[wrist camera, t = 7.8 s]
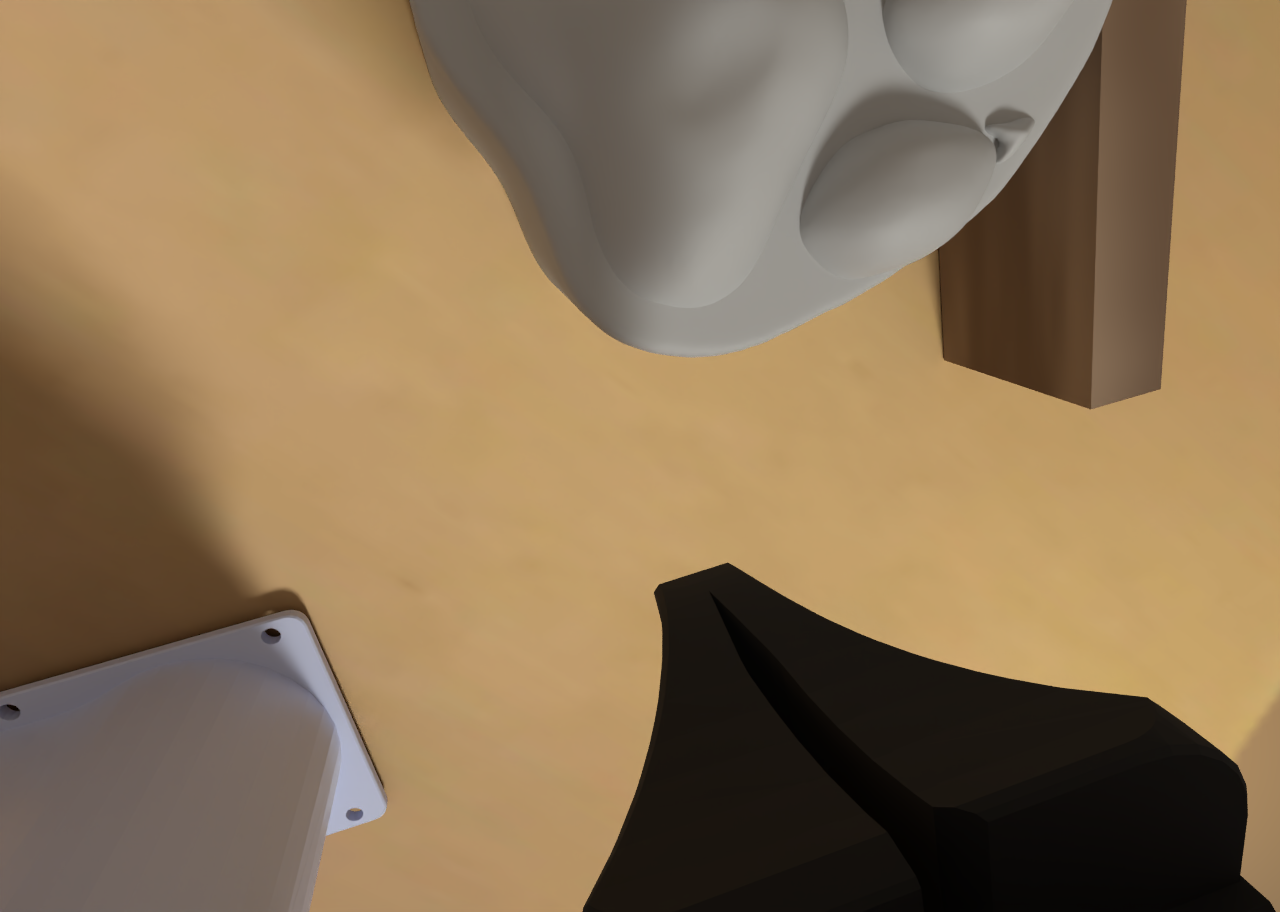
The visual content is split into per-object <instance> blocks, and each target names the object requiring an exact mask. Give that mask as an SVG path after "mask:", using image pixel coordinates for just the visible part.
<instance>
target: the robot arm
mask: <svg viewBox="0 0 1280 912" xmlns="http://www.w3.org/2000/svg"><path fill="white" fill-rule="evenodd" d="M654 595H655V598H656V602H657V606H658V610H659V614H660V618H661V622H662V670H661V680H660V690H659V698H658V705H657V711H656V717H655V722H654V727H653V732H652V736H651V741H650V745H649V749H648V752H647V756H646V760H645V763H644V767H643V770H642V774H641V777H640V780H639V784H638V787H637V790H636V793H635V796H634V798H633V801H632V803H631V806H630V808H629V811H628V813H627V816H626V819H625V821H624V824H623V826H622V829H621V831H620V834H619V836H618V839H617V841H616V843H615V846H614V848H613V850H612V852H611V855H610V857H609V858H608V860H607V862H606V864H605V866H604V868H603V870H602V872H601V874H600V876H599V878H598V880H597V882H596V884H595V886H594V888H593V890H592V892H591V894H590V896H589V898H588V900H587V902H586V904H585V905H584V907H583V912H1276V911H1275V910H1274V908H1273V906H1272V904H1271V903H1270V901H1269V900H1267V899H1266V898H1265V897H1264V896H1263V895H1262V894H1261V893H1260V892H1258V891H1257V890H1256V889H1255V888H1254V887H1253V886H1252V885H1250V884H1249V883H1248V882H1247V881H1246V880H1245V879H1244V878H1243V877H1242V876H1240V872H1241V864H1242V856H1243V848H1244V840H1245V832H1246V825H1247V817H1248V809H1247V788H1246V783H1245V781H1244V779H1243V776H1242V774H1241V772H1240V770H1239V767H1238V765H1237V764H1236V763H1234V762H1233V761H1232V760H1231V759H1230V758H1228V757H1227V756H1226V755H1225V754H1224V753H1223V752H1221V751H1220V750H1219V749H1218V748H1216V747H1215V746H1214V745H1212V744H1211V743H1210V742H1208V741H1207V740H1206V739H1204V738H1203V737H1202V736H1201V735H1199V734H1198V733H1197V732H1195V731H1194V730H1193V729H1191V728H1190V727H1189V726H1187V725H1186V724H1185V723H1184V722H1182V721H1181V720H1179V719H1178V718H1176V717H1175V716H1174V715H1172V714H1171V713H1169V712H1168V711H1166V710H1165V709H1164V708H1162V707H1161V706H1159V705H1158V704H1156V703H1155V702H1153V701H1151V700H1150V699H1149V698H1147V697H1138V696H1129V695H1120V694H1111V693H1102V692H1093V691H1085V690H1076V689H1067V688H1060V687H1053V686H1048V685H1042V684H1036V683H1031V682H1025V681H1020V680H1014V679H1009V678H1004V677H999V676H995V675H990V674H986V673H981V672H977V671H973V670H969V669H965V668H962V667H958V666H954V665H950V664H946V663H943V662H939V661H935V660H932V659H929V658H925V657H922V656H919V655H916V654H913V653H910V652H907V651H904V650H901V649H899V648H896V647H893V646H890V645H887V644H885V643H882V642H879V641H876V640H874V639H871V638H869V637H866V636H864V635H861V634H859V633H856V632H854V631H852V630H850V629H848V628H845V627H843V626H841V625H839V624H837V623H834V622H832V621H830V620H828V619H826V618H824V617H822V616H820V615H818V614H816V613H814V612H812V611H810V610H808V609H807V608H805V607H803V606H801V605H799V604H797V603H795V602H794V601H792V600H790V599H788V598H786V597H785V596H783V595H781V594H779V593H778V592H776V591H774V590H773V589H771V588H769V587H768V586H766V585H764V584H763V583H761V582H759V581H758V580H756V579H754V578H753V577H751V576H750V575H748V574H746V573H745V572H743V571H741V570H740V569H738V568H736V567H735V566H733V565H731V564H729V563H725V564H722V565H719V566H716V567H713V568H709V569H706V570H703V571H700V572H697V573H694V574H691V575H687V576H684V577H681V578H678V579H675V580H672V581H669V582H665V583H662V584H659V585H658V587H657V588H656V590H655V592H654ZM270 628H273V629H276V630H278V631H279V632H280V634H281V635H280V636H277V637H272V636H269V635H267V633H266V632H265V630H266V629H270ZM6 704H11V705H14V706H16V707H17V708H19V709H20V711H14V710H11V709H10V708H8V707H7V705H6ZM351 808H359V809H361V810H360V811H355V812H354V811H351V810H350V809H351ZM386 808H387V796H386V793H385V791H384V789H383V786H382V784H381V782H380V780H379V777H378V775H377V773H376V771H375V768H374V766H373V764H372V762H371V759H370V757H369V755H368V753H367V750H366V748H365V746H364V743H363V741H362V739H361V737H360V734H359V732H358V730H357V728H356V725H355V723H354V721H353V719H352V716H351V714H350V712H349V710H348V707H347V705H346V703H345V700H344V698H343V696H342V694H341V691H340V689H339V687H338V685H337V682H336V680H335V678H334V676H333V673H332V671H331V669H330V666H329V664H328V662H327V660H326V657H325V655H324V653H323V651H322V648H321V646H320V644H319V642H318V639H317V637H316V635H315V633H314V630H313V628H312V626H311V623H310V621H309V619H308V618H307V617H306V615H305V614H303V613H302V612H300V611H296V610H285V611H282V612H278V613H275V614H271V615H268V616H264V617H261V618H257V619H254V620H250V621H247V622H243V623H240V624H236V625H233V626H229V627H226V628H222V629H219V630H215V631H212V632H208V633H205V634H201V635H198V636H194V637H191V638H187V639H184V640H180V641H177V642H173V643H170V644H166V645H163V646H159V647H156V648H152V649H149V650H145V651H142V652H138V653H135V654H131V655H128V656H124V657H121V658H117V659H114V660H110V661H107V662H103V663H100V664H96V665H93V666H89V667H86V668H82V669H79V670H75V671H72V672H68V673H65V674H61V675H58V676H54V677H51V678H47V679H44V680H40V681H37V682H33V683H30V684H26V685H23V686H19V687H16V688H12V689H9V690H5V691H2V692H0V912H309V910H310V905H311V901H312V896H313V891H314V887H315V882H316V878H317V873H318V869H319V864H320V860H321V855H322V851H323V846H324V841H325V837H326V836H327V835H330V834H333V833H336V832H339V831H342V830H345V829H348V828H351V827H354V826H357V825H360V824H363V823H366V822H369V821H372V820H375V819H377V818H379V817H381V816H382V815H383V814H384V813H385V811H386Z"/></svg>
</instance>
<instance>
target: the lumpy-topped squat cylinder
mask: <svg viewBox="0 0 1280 912" xmlns="http://www.w3.org/2000/svg"><path fill="white" fill-rule="evenodd" d="M409 1H410V5H411V9H412V13H413V16H414V21H415V25H416V29H417V33H418V36H419V40H420V43H421V47H422V50H423V53H424V57H425V60H426V64H427V67H428V70H429V74H430V77H431V80H432V83H433V85H434V88H435V90H436V92H437V94H438V96H439V98H440V100H441V102H442V103H443V105H444V107H445V108H446V110H447V111H448V113H449V114H450V116H451V117H452V119H453V120H454V121H455V123H456V124H457V125H458V127H459V128H460V129H461V131H462V132H463V133H464V134H465V136H466V137H467V138H468V139H469V140H470V142H471V143H472V144H473V145H474V146H475V148H476V149H477V150H478V151H479V153H480V154H481V155H482V156H483V158H484V159H485V160H486V162H487V163H488V164H489V166H490V167H491V168H492V170H493V171H494V173H495V174H496V176H497V177H498V179H499V181H500V182H501V184H502V186H503V188H504V190H505V191H506V193H507V195H508V197H509V200H510V202H511V204H512V206H513V209H514V211H515V213H516V216H517V218H518V221H519V224H520V226H521V229H522V231H523V234H524V236H525V238H526V241H527V243H528V245H529V248H530V250H531V252H532V254H533V256H534V258H535V259H536V261H537V263H538V265H539V266H540V268H541V269H542V271H543V272H544V274H545V275H546V276H547V277H548V279H549V280H550V281H551V282H552V283H553V284H554V285H555V286H556V287H557V288H558V289H559V290H560V291H561V292H562V293H563V294H564V295H565V296H566V297H567V298H568V299H569V300H570V301H571V302H572V303H573V304H574V305H575V306H576V307H577V308H578V309H579V310H580V311H581V312H582V313H583V314H584V315H585V316H586V317H588V318H589V319H590V320H591V321H592V322H593V323H594V324H595V325H596V326H597V327H599V328H600V329H601V330H602V331H604V332H605V333H606V334H608V335H609V336H611V337H612V338H614V339H616V340H618V341H620V342H622V343H624V344H627V345H629V346H632V347H635V348H637V349H640V350H644V351H647V352H651V353H656V354H662V355H669V356H679V357H708V356H717V355H723V354H728V353H732V352H737V351H741V350H744V349H747V348H750V347H753V346H756V345H759V344H762V343H764V342H767V341H769V340H771V339H773V338H775V337H777V336H779V335H781V334H783V333H785V332H788V331H790V330H792V329H794V328H796V327H798V326H800V325H802V324H804V323H805V322H807V321H809V320H811V319H813V318H815V317H817V316H819V315H821V314H823V313H825V312H827V311H829V310H832V309H834V308H836V307H839V306H841V305H843V304H845V303H846V302H848V301H850V300H852V299H853V298H855V297H857V296H859V295H860V294H862V293H864V292H865V291H867V290H869V289H870V288H872V287H874V286H876V285H877V284H879V283H881V282H882V281H884V280H885V279H887V278H888V277H890V276H892V275H893V274H894V273H896V272H897V271H899V270H900V269H901V268H903V267H904V266H906V265H908V264H911V263H913V262H915V261H917V260H919V259H921V258H923V257H925V256H927V255H928V254H930V253H932V252H933V251H935V250H936V249H938V248H939V247H941V246H942V245H944V244H945V243H946V242H948V241H949V240H950V239H951V238H952V237H953V236H955V235H956V234H957V233H958V232H959V231H960V230H961V229H962V228H963V227H964V226H965V224H966V223H967V222H969V221H970V220H971V219H972V218H973V217H975V216H976V215H977V214H978V213H979V212H980V211H981V210H982V209H983V208H984V207H986V206H987V205H988V204H989V203H990V202H991V201H992V200H993V199H994V198H995V197H996V196H997V195H998V194H999V192H1000V191H1001V190H1002V189H1003V188H1004V187H1005V185H1006V184H1007V183H1008V181H1009V180H1010V179H1011V177H1012V176H1013V175H1014V173H1015V172H1016V171H1017V169H1018V168H1019V166H1020V165H1021V164H1022V162H1023V161H1024V159H1025V158H1026V156H1027V155H1028V154H1029V152H1030V151H1031V149H1032V148H1033V146H1034V145H1035V144H1036V142H1037V141H1038V139H1039V138H1040V136H1041V135H1042V133H1043V132H1044V130H1045V129H1046V127H1047V125H1048V124H1049V122H1050V121H1051V119H1052V118H1053V116H1054V115H1055V113H1056V112H1057V110H1058V108H1059V107H1060V105H1061V104H1062V102H1063V100H1064V99H1065V97H1066V95H1067V94H1068V92H1069V90H1070V89H1071V87H1072V86H1073V84H1074V82H1075V80H1076V79H1077V77H1078V75H1079V74H1080V72H1081V70H1082V69H1083V67H1084V65H1085V63H1086V61H1087V60H1088V58H1089V56H1090V54H1091V52H1092V50H1093V48H1094V45H1095V43H1096V41H1097V38H1098V36H1099V33H1100V31H1101V29H1102V26H1103V24H1104V21H1105V19H1106V16H1107V14H1108V11H1109V9H1110V6H1111V3H1112V0H409Z"/></svg>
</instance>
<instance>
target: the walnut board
mask: <svg viewBox="0 0 1280 912" xmlns="http://www.w3.org/2000/svg"><path fill="white" fill-rule="evenodd" d="M1185 15H1186V0H1112V3H1111V6H1110V9H1109V11H1108V14H1107V16H1106V19H1105V21H1104V24H1103V26H1102V29H1101V31H1100V33H1099V36H1098V38H1097V41H1096V43H1095V45H1094V48H1093V50H1092V52H1091V54H1090V56H1089V58H1088V60H1087V61H1086V63H1085V65H1084V67H1083V69H1082V70H1081V72H1080V74H1079V75H1078V77H1077V79H1076V80H1075V82H1074V84H1073V86H1072V87H1071V89H1070V90H1069V92H1068V94H1067V95H1066V97H1065V99H1064V100H1063V102H1062V104H1061V105H1060V107H1059V108H1058V110H1057V112H1056V113H1055V115H1054V116H1053V118H1052V119H1051V121H1050V122H1049V124H1048V125H1047V127H1046V129H1045V130H1044V132H1043V133H1042V135H1041V136H1040V138H1039V139H1038V141H1037V142H1036V144H1035V145H1034V146H1033V148H1032V149H1031V151H1030V152H1029V154H1028V155H1027V156H1026V158H1025V159H1024V161H1023V162H1022V164H1021V165H1020V166H1019V168H1018V169H1017V171H1016V172H1015V173H1014V175H1013V176H1012V177H1011V179H1010V180H1009V181H1008V183H1007V184H1006V185H1005V187H1004V188H1003V189H1002V190H1001V191H1000V192H999V194H998V195H997V196H996V197H995V198H994V199H993V200H992V201H991V202H990V203H989V204H988V205H987V206H986V207H984V208H983V209H982V210H981V211H980V212H979V213H978V214H977V215H976V216H975V217H973V218H972V219H971V220H970V221H969V222H967V223H966V224H965V226H964V227H963V228H962V229H961V230H960V231H959V232H958V233H957V234H956V235H955V236H953V237H952V238H951V239H950V240H949V241H948V242H946V243H945V244H944V245H942V246H941V247H939V261H940V281H941V302H942V323H943V344H944V360H946V361H949V362H952V363H954V364H957V365H960V366H963V367H966V368H969V369H972V370H975V371H978V372H981V373H984V374H987V375H990V376H993V377H996V378H999V379H1002V380H1005V381H1008V382H1011V383H1014V384H1017V385H1020V386H1023V387H1026V388H1029V389H1032V390H1035V391H1038V392H1041V393H1044V394H1047V395H1050V396H1053V397H1056V398H1059V399H1062V400H1065V401H1068V402H1071V403H1074V404H1077V405H1080V406H1083V407H1086V408H1089V409H1094V408H1097V407H1101V406H1104V405H1107V404H1111V403H1114V402H1118V401H1121V400H1125V399H1128V398H1131V397H1135V396H1138V395H1142V394H1145V393H1148V392H1152V391H1155V390H1159V389H1161V375H1162V360H1163V345H1164V330H1165V315H1166V300H1167V285H1168V270H1169V255H1170V240H1171V225H1172V210H1173V195H1174V180H1175V165H1176V150H1177V135H1178V120H1179V105H1180V90H1181V75H1182V60H1183V45H1184V30H1185Z"/></svg>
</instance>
